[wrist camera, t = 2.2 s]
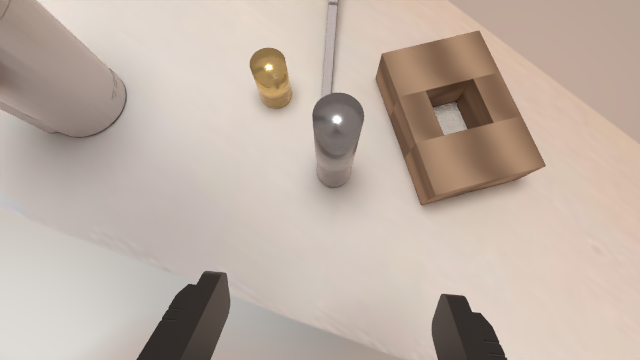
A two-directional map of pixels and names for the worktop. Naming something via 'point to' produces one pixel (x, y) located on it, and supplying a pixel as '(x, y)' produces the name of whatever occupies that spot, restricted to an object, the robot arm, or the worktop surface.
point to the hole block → (477, 111)
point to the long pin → (336, 136)
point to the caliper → (329, 47)
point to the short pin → (271, 77)
